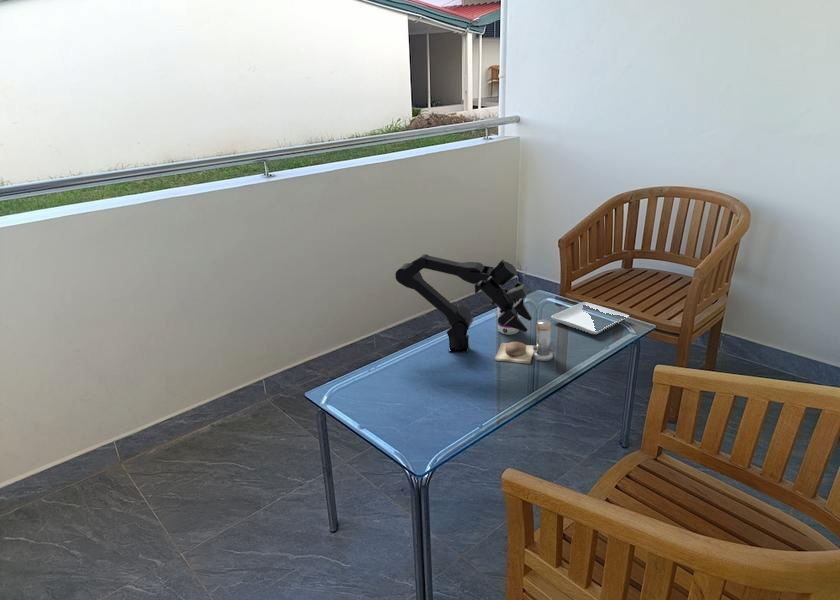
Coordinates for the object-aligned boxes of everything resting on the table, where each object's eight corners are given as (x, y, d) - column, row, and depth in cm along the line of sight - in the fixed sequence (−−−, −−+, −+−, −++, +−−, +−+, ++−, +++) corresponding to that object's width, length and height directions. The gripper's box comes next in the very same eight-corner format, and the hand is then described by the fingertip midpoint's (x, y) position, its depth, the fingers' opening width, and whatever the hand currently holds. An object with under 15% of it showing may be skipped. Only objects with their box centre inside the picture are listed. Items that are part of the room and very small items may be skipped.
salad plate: (583, 308, 242) (584, 300, 241) (630, 322, 227) (630, 314, 225) (549, 323, 230) (549, 315, 229) (595, 340, 215) (596, 332, 213)
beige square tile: (494, 360, 205) (494, 352, 204) (502, 344, 216) (501, 337, 214) (530, 363, 201) (530, 355, 200) (535, 347, 212) (535, 340, 211)
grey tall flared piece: (531, 360, 204) (532, 325, 199) (534, 351, 209) (535, 317, 204) (551, 362, 201) (552, 327, 197) (554, 353, 207) (554, 319, 202)
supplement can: (521, 334, 222) (521, 297, 217) (498, 335, 223) (498, 298, 217) (518, 325, 230) (518, 289, 224) (496, 326, 230) (496, 290, 224)
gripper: (507, 288, 190) (541, 322, 191) (517, 268, 206) (549, 300, 207) (483, 309, 196) (517, 342, 196) (495, 288, 212) (527, 319, 212)
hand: (528, 325), depth 203 cm, fingers open, 9 cm apart
